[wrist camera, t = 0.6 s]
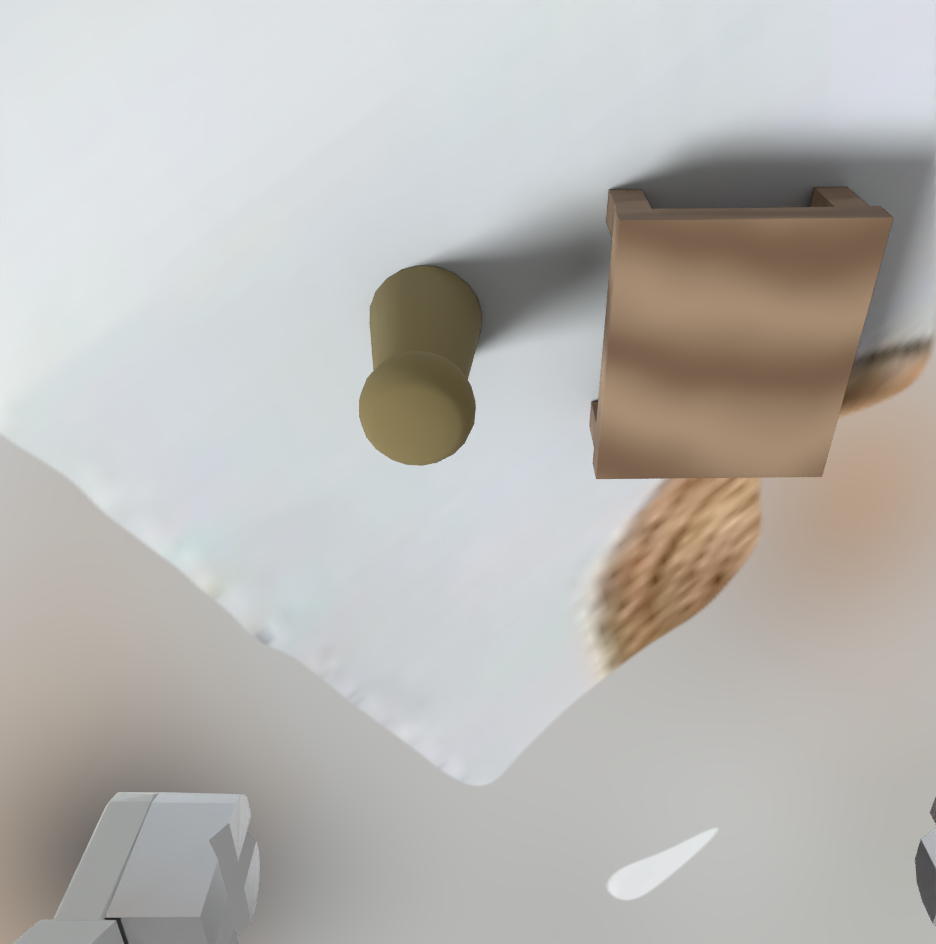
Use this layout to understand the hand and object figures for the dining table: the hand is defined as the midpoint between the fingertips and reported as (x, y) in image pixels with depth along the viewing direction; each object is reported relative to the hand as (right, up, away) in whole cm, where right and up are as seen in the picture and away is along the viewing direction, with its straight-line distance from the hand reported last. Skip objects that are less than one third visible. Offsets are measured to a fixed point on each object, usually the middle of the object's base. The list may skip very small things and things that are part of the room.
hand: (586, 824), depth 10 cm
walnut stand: (+11, +12, +36) cm, 40 cm away
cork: (-4, +12, +36) cm, 38 cm away
